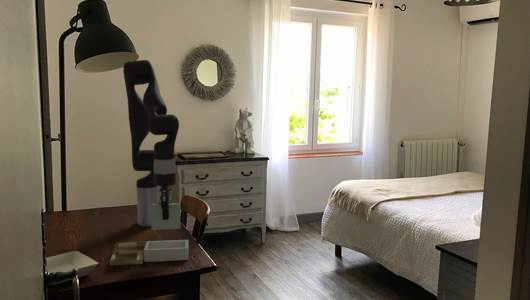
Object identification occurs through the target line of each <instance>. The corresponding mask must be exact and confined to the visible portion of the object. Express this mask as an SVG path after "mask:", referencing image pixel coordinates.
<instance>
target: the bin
mask: <svg viewBox="0 0 530 300" xmlns="http://www.w3.org/2000/svg"><path fill="white" fill-rule="evenodd" d="M145 242H146V245H145V248H144V261H143V263H144V262H145V263H147V262H169V261H171V262H172V261H174V262H175V261H188V260H189V243H190V242H189V239H178V240H177V239H174V240H173V239H172V240H171V239H170V240H148V241H145Z"/></svg>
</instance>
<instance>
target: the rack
mask: <svg viewBox="0 0 530 300" xmlns="http://www.w3.org/2000/svg"><path fill="white" fill-rule="evenodd" d="M136 242H137V249H138V257H137V260H125V261H115V253H116V251H117V250H119V244H124V243H136ZM146 242H147V241H129V242H128V241H124V242H116V243H115V245H114V246H113V248H114V251H113V253H112V255H111V258H110V259H109V261H108V263H109V266H125V265H127V266H128V265H131V266H132V265H142V264H143V263H144V248H145V245H146Z"/></svg>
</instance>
